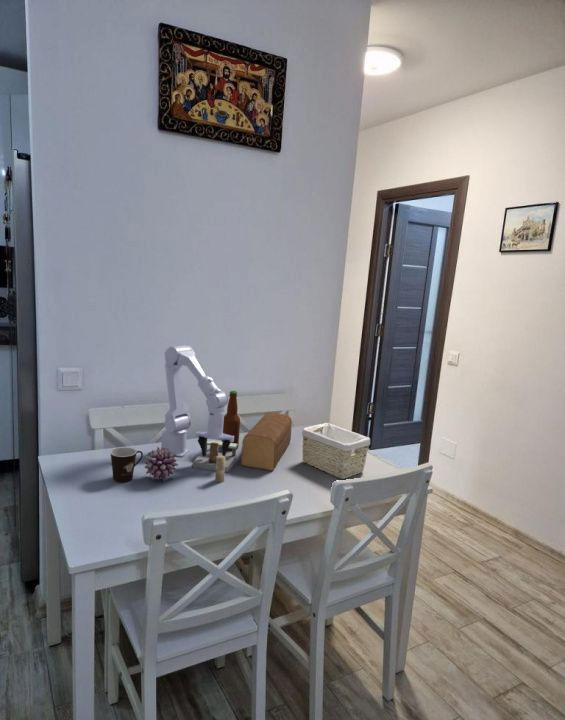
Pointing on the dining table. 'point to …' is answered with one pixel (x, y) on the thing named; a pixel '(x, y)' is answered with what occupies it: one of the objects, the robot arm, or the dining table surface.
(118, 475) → the coffee mug
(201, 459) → the socket board
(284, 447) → the bread
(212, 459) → the walnut peg
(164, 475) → the spiky ball
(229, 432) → the bottle
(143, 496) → the dining table surface
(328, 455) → the storage basket
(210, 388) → the robot arm
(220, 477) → the maple peg
